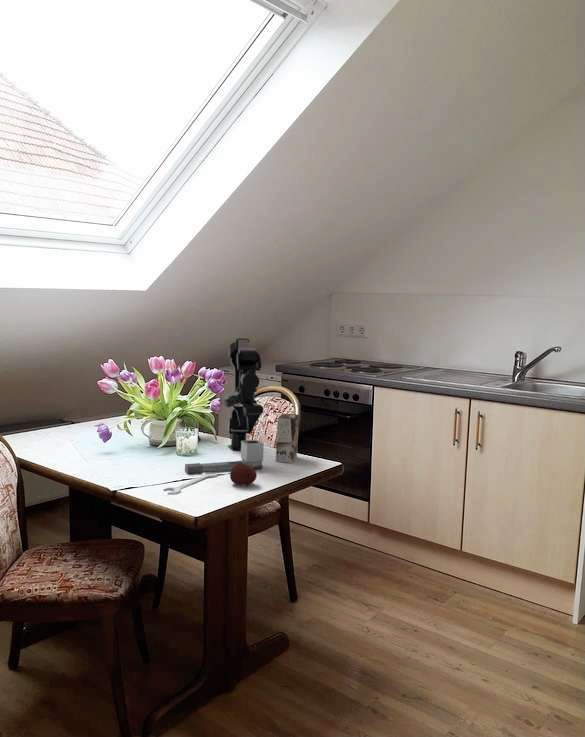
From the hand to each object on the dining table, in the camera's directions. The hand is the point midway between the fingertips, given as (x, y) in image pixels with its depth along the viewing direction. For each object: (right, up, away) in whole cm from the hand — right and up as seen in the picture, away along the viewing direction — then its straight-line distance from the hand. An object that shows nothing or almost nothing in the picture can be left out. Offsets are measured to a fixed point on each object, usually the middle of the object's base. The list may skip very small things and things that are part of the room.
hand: (245, 428), depth 231 cm
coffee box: (+14, -12, +7) cm, 20 cm away
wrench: (-15, -15, -25) cm, 33 cm away
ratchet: (-6, -13, -10) cm, 17 cm away
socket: (+3, -10, -6) cm, 12 cm away
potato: (+1, -16, -25) cm, 29 cm away
